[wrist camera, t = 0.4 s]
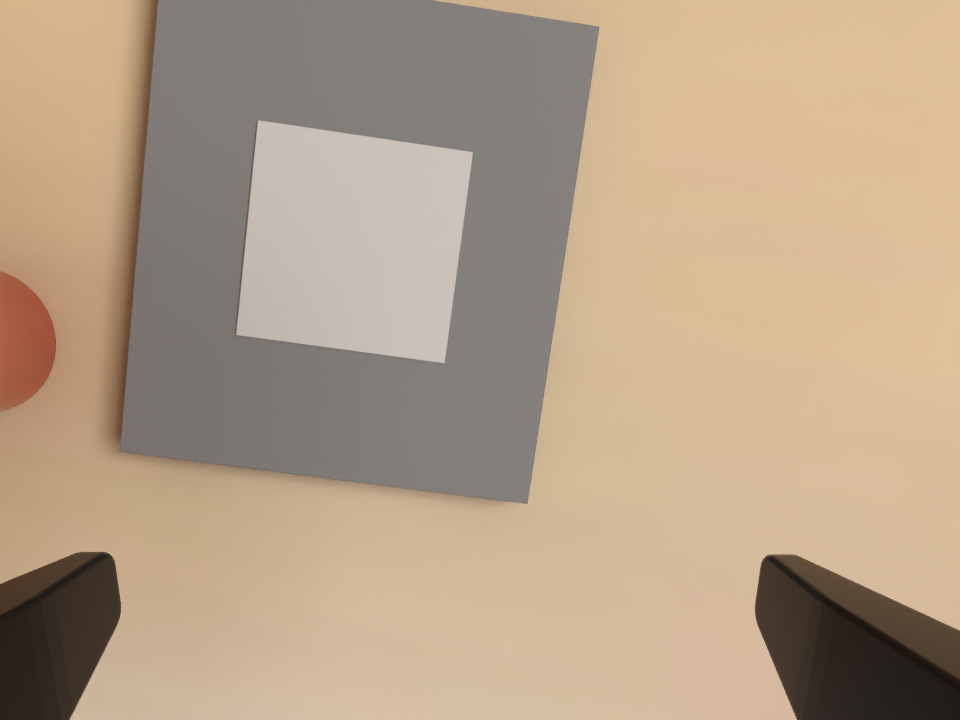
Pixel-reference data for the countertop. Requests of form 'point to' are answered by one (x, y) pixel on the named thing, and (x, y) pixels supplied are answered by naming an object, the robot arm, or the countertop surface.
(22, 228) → the countertop surface
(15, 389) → the salt shaker
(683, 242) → the countertop surface
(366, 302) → the mat
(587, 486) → the countertop surface
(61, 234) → the countertop surface
